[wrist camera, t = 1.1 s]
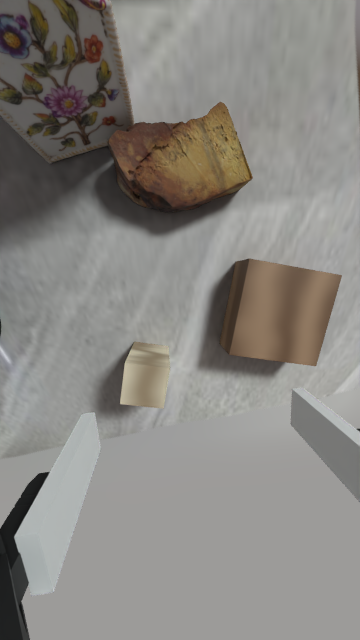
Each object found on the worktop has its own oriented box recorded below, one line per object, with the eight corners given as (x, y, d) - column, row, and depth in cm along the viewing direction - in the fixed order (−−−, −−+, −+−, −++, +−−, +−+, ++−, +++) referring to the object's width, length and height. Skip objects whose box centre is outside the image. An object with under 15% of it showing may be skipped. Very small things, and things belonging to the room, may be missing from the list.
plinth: (219, 343, 33) (229, 354, 28) (235, 261, 31) (249, 258, 26) (293, 353, 34) (315, 366, 29) (314, 275, 32) (341, 275, 27)
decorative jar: (104, 24, 25) (-46, -624, 7) (139, 138, 27) (94, -129, 9) (2, 55, 24) (-418, -527, 7) (46, 167, 27) (-179, -48, 9)
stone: (227, 120, 27) (241, 85, 22) (243, 198, 29) (259, 182, 24) (112, 153, 27) (100, 125, 22) (135, 229, 29) (129, 219, 24)
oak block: (130, 373, 33) (119, 404, 25) (134, 341, 32) (124, 362, 24) (163, 377, 33) (163, 408, 25) (168, 346, 32) (170, 368, 24)
